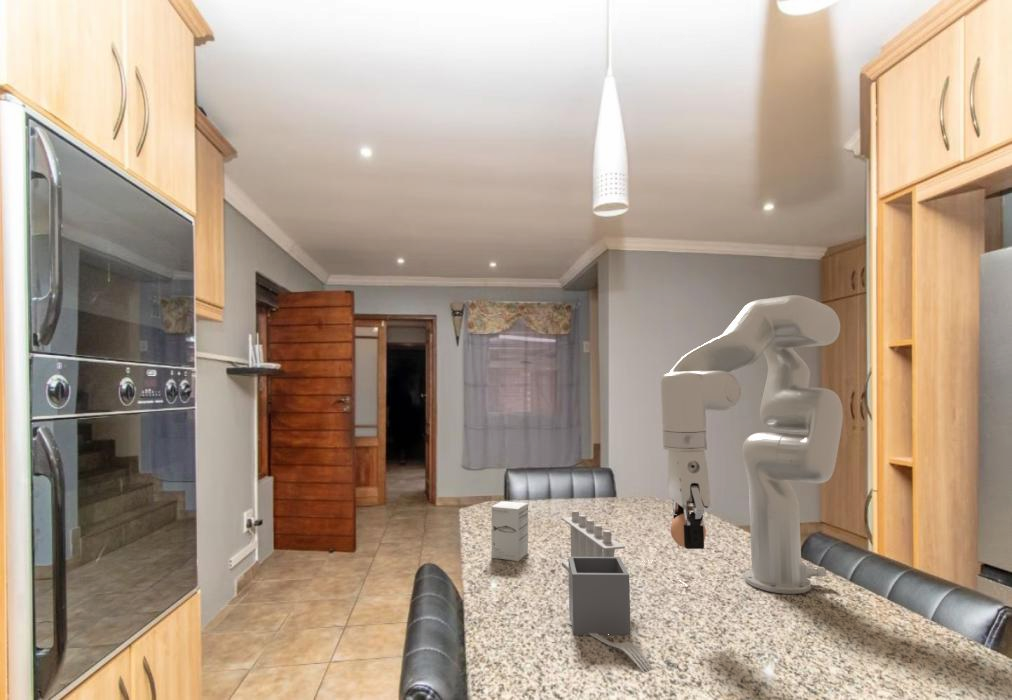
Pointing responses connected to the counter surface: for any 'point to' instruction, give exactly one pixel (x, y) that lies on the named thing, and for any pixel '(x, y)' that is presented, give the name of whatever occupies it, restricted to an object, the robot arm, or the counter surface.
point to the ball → (680, 529)
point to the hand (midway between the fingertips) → (688, 541)
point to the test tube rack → (589, 538)
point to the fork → (623, 646)
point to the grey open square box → (599, 596)
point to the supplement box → (509, 530)
